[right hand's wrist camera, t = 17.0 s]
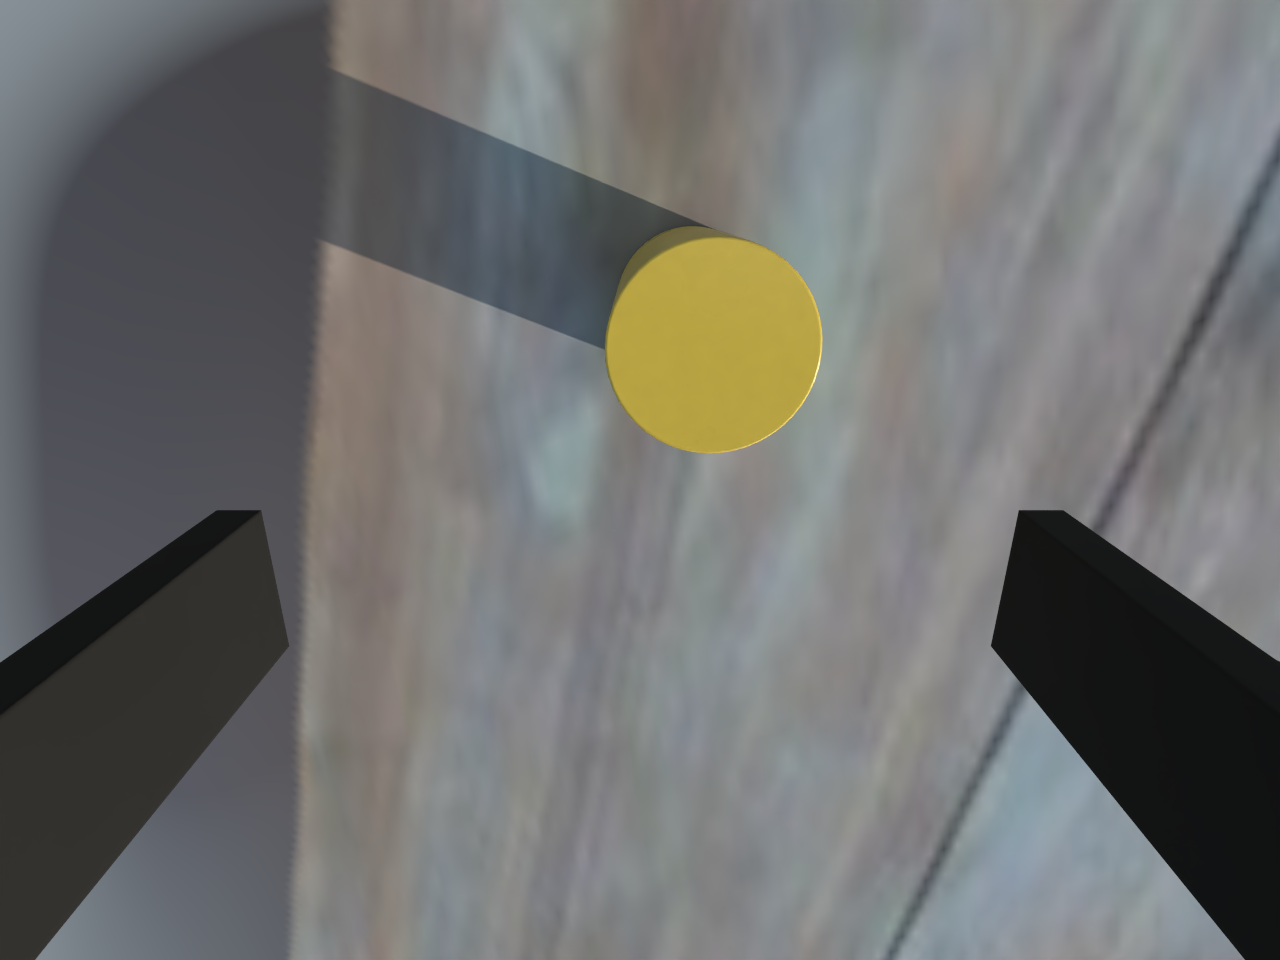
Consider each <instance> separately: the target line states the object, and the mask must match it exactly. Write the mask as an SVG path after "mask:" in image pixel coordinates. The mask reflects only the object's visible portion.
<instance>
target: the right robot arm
mask: <svg viewBox="0 0 1280 960" xmlns="http://www.w3.org/2000/svg"><path fill="white" fill-rule="evenodd" d="M288 647H289V644H288V639H287V634H286V629H285V624H284V619H283V614H282V610H281V605H280V600H279V595H278V590H277V585H276V581H275V576H274V571H273V566H272V561H271V556H270V551H269V547H268V542H267V537H266V532H265V527H264V522H263V517H262V513H261V510H217V511H215V512H214V513H212V514H211V515H210V516H208V517H207V518H205V519H204V520H202V521H201V522H200V523H198V524H197V525H195V526H194V527H192V528H191V529H190V530H188V531H187V532H185V533H184V534H183V535H181V536H180V537H178V538H177V539H175V540H174V541H173V542H171V543H170V544H168V545H167V546H166V547H164V548H163V549H161V550H160V551H158V552H157V553H156V554H154V555H153V556H151V557H150V558H149V559H147V560H146V561H144V562H143V563H141V564H140V565H138V566H137V567H136V568H134V569H133V570H131V571H130V572H129V573H127V574H126V575H124V576H123V577H121V578H120V579H119V580H117V581H116V582H114V583H113V584H111V585H110V586H109V587H107V588H106V589H104V590H103V591H101V592H100V593H99V594H97V595H96V596H94V597H93V598H92V599H90V600H89V601H87V602H86V603H84V604H83V605H82V606H80V607H79V608H77V609H76V610H74V611H73V612H72V613H70V614H69V615H67V616H66V617H65V618H63V619H62V620H60V621H59V622H57V623H56V624H55V625H53V626H52V627H50V628H49V629H48V630H46V631H45V632H43V633H42V634H40V635H39V636H37V637H36V638H35V639H33V640H32V641H30V642H29V643H28V644H26V645H25V646H23V647H22V648H20V649H19V650H18V651H16V652H15V653H13V654H12V655H10V656H9V657H8V658H6V659H5V660H3V661H2V662H1V663H0V960H35V959H36V958H37V957H38V955H39V954H40V953H41V952H42V950H43V949H44V948H45V947H46V945H47V944H48V943H49V942H50V941H51V939H52V938H53V937H54V936H55V934H56V933H57V932H58V931H59V929H60V928H61V927H62V926H63V924H64V923H65V922H66V921H67V919H68V918H69V917H70V916H71V915H72V913H73V912H74V911H75V910H76V908H77V907H78V906H79V905H80V903H81V902H82V901H83V900H84V899H85V897H86V896H87V895H88V894H89V892H90V891H91V890H92V889H93V887H94V886H95V885H96V884H97V883H98V881H99V880H100V879H101V878H102V876H103V875H104V874H105V873H106V871H107V870H108V869H109V868H110V866H111V865H112V864H113V863H114V861H115V860H116V859H117V858H118V857H119V855H120V854H121V853H122V852H123V850H124V849H125V848H126V847H127V845H128V844H129V843H130V842H131V841H132V839H133V838H134V837H135V836H136V834H137V833H138V832H139V831H140V829H141V828H142V827H143V826H144V824H145V823H146V822H147V821H148V819H149V818H150V817H151V816H152V815H153V813H154V812H155V811H156V810H157V808H158V807H159V806H160V805H161V803H162V802H163V801H164V800H165V798H166V797H167V796H168V795H169V794H170V792H171V791H172V790H173V789H174V787H175V786H176V785H177V784H178V782H179V781H180V780H181V779H182V778H183V776H184V775H185V774H186V773H187V771H188V770H189V769H190V768H191V766H192V765H193V764H194V763H195V762H196V760H197V759H198V758H199V757H200V755H201V754H202V753H203V752H204V750H205V749H206V748H207V747H208V745H209V744H210V743H211V742H212V741H213V739H214V738H215V737H216V736H217V734H218V733H219V732H220V731H221V729H222V728H223V727H224V726H225V724H226V723H227V722H228V721H229V720H230V718H231V717H232V716H233V715H234V713H235V712H236V711H237V710H238V708H239V707H240V706H241V705H242V703H243V702H244V701H245V700H246V699H247V697H248V696H249V695H250V694H251V692H252V691H253V690H254V689H255V687H256V686H257V685H258V684H259V683H260V681H261V680H262V679H263V678H264V676H265V675H266V674H267V673H268V671H269V670H270V669H271V668H272V666H273V665H274V664H275V663H276V662H277V660H278V659H279V658H280V657H281V655H282V654H283V653H284V652H285V650H286V649H287V648H288ZM991 647H992V648H993V649H994V650H995V652H996V653H997V654H998V655H999V657H1000V658H1001V659H1002V660H1003V662H1004V663H1005V664H1006V665H1007V666H1008V668H1009V669H1010V670H1011V671H1012V673H1013V674H1014V675H1015V676H1016V678H1017V679H1018V680H1019V681H1020V683H1021V684H1022V685H1023V686H1024V687H1025V689H1026V690H1027V691H1028V692H1029V694H1030V695H1031V696H1032V697H1033V699H1034V700H1035V701H1036V702H1037V704H1038V705H1039V706H1040V707H1041V708H1042V710H1043V711H1044V712H1045V713H1046V715H1047V716H1048V717H1049V718H1050V720H1051V721H1052V722H1053V723H1054V724H1055V726H1056V727H1057V728H1058V729H1059V731H1060V732H1061V733H1062V734H1063V736H1064V737H1065V738H1066V739H1067V741H1068V742H1069V743H1070V744H1071V745H1072V747H1073V748H1074V749H1075V750H1076V752H1077V753H1078V754H1079V755H1080V757H1081V758H1082V759H1083V760H1084V762H1085V763H1086V764H1087V765H1088V766H1089V768H1090V769H1091V770H1092V771H1093V773H1094V774H1095V775H1096V776H1097V778H1098V779H1099V780H1100V781H1101V783H1102V784H1103V785H1104V786H1105V787H1106V789H1107V790H1108V791H1109V792H1110V794H1111V795H1112V796H1113V797H1114V799H1115V800H1116V801H1117V802H1118V804H1119V805H1120V806H1121V807H1122V808H1123V810H1124V811H1125V812H1126V813H1127V815H1128V816H1129V817H1130V818H1131V820H1132V821H1133V822H1134V823H1135V824H1136V826H1137V827H1138V828H1139V829H1140V831H1141V832H1142V833H1143V834H1144V836H1145V837H1146V838H1147V839H1148V841H1149V842H1150V843H1151V844H1152V845H1153V847H1154V848H1155V849H1156V850H1157V852H1158V853H1159V854H1160V855H1161V857H1162V858H1163V859H1164V860H1165V862H1166V863H1167V864H1168V865H1169V866H1170V868H1171V869H1172V870H1173V871H1174V873H1175V874H1176V875H1177V876H1178V878H1179V879H1180V880H1181V881H1182V883H1183V884H1184V885H1185V886H1186V887H1187V889H1188V890H1189V891H1190V892H1191V894H1192V895H1193V896H1194V897H1195V899H1196V900H1197V901H1198V902H1199V903H1200V905H1201V906H1202V907H1203V908H1204V910H1205V911H1206V912H1207V913H1208V915H1209V916H1210V917H1211V918H1212V920H1213V921H1214V922H1215V923H1216V924H1217V926H1218V927H1219V928H1220V929H1221V931H1222V932H1223V933H1224V934H1225V936H1226V937H1227V938H1228V939H1229V941H1230V942H1231V943H1232V944H1233V945H1234V947H1235V948H1236V949H1237V950H1238V952H1239V953H1240V954H1241V955H1242V957H1243V958H1244V959H1245V960H1280V662H1279V661H1277V660H1275V659H1274V658H1272V657H1271V656H1270V655H1268V654H1267V653H1265V652H1264V651H1262V650H1261V649H1260V648H1258V647H1257V646H1255V645H1254V644H1252V643H1251V642H1250V641H1248V640H1247V639H1245V638H1244V637H1243V636H1241V635H1240V634H1238V633H1237V632H1235V631H1234V630H1233V629H1231V628H1230V627H1228V626H1227V625H1225V624H1224V623H1223V622H1221V621H1220V620H1218V619H1217V618H1216V617H1214V616H1213V615H1211V614H1210V613H1208V612H1207V611H1206V610H1204V609H1203V608H1201V607H1200V606H1198V605H1197V604H1196V603H1194V602H1193V601H1191V600H1190V599H1188V598H1187V597H1186V596H1184V595H1183V594H1181V593H1180V592H1179V591H1177V590H1176V589H1174V588H1173V587H1171V586H1170V585H1169V584H1167V583H1166V582H1164V581H1163V580H1161V579H1160V578H1159V577H1157V576H1156V575H1154V574H1153V573H1152V572H1150V571H1149V570H1147V569H1146V568H1144V567H1143V566H1142V565H1140V564H1139V563H1137V562H1136V561H1134V560H1133V559H1132V558H1130V557H1129V556H1127V555H1126V554H1124V553H1123V552H1122V551H1120V550H1119V549H1117V548H1116V547H1115V546H1113V545H1112V544H1110V543H1109V542H1107V541H1106V540H1105V539H1103V538H1102V537H1100V536H1099V535H1097V534H1096V533H1095V532H1093V531H1092V530H1090V529H1089V528H1088V527H1086V526H1085V525H1083V524H1082V523H1080V522H1079V521H1078V520H1076V519H1075V518H1073V517H1072V516H1070V515H1069V514H1068V513H1066V512H1065V511H1063V510H1019V513H1018V517H1017V522H1016V527H1015V532H1014V537H1013V542H1012V547H1011V551H1010V556H1009V561H1008V566H1007V571H1006V576H1005V580H1004V585H1003V590H1002V595H1001V600H1000V605H999V610H998V614H997V619H996V624H995V629H994V634H993V639H992V643H991Z"/></svg>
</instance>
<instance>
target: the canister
mask: <svg viewBox="0 0 1280 960" xmlns="http://www.w3.org/2000/svg"><path fill="white" fill-rule="evenodd" d="M821 354H822V329H821V321H820V317H819V312H818V309H817V306H816V303H815V301H814V298H813V296H812V294H811V292H810V290H809V288H808V287H807V285H806V283H805V282H804V280H803V279H802V278H801V276H800V275H799V274H798V272H797V271H796V270H795V269H794V268H793V267H792V266H791V265H790V264H789V263H788V262H787V261H785V260H784V259H783V258H782V257H780V256H779V255H778V254H776V253H775V252H773V251H771V250H769V249H768V248H766V247H764V246H762V245H759V244H757V243H754V242H752V241H749V240H746V239H743V238H740V237H737V236H733V235H730V234H727V233H724V232H721V231H718V230H714V229H711V228H706V227H699V226H684V227H679V228H674V229H671V230H668V231H665V232H662V233H660V234H658V235H656V236H655V237H653V238H652V239H650V240H649V241H647V242H646V243H645V244H644V245H643V246H641V247H640V248H639V249H638V250H637V252H636V253H635V254H634V255H633V256H632V258H631V259H630V261H629V262H628V264H627V265H626V267H625V269H624V271H623V273H622V276H621V279H620V282H619V285H618V289H617V292H616V296H615V299H614V303H613V306H612V310H611V313H610V317H609V320H608V325H607V330H606V337H605V360H606V367H607V372H608V377H609V380H610V383H611V386H612V388H613V391H614V393H615V395H616V397H617V399H618V401H619V403H620V404H621V406H622V407H623V409H624V410H625V411H626V413H627V414H628V415H629V416H630V418H631V419H632V420H633V421H634V422H635V423H636V424H637V425H638V426H639V427H640V428H642V429H643V430H644V431H645V432H646V433H648V434H649V435H651V436H652V437H654V438H655V439H657V440H659V441H661V442H663V443H665V444H667V445H670V446H672V447H675V448H678V449H681V450H686V451H691V452H698V453H722V452H728V451H734V450H737V449H741V448H744V447H747V446H750V445H752V444H754V443H757V442H759V441H761V440H763V439H764V438H766V437H768V436H769V435H771V434H773V433H774V432H775V431H777V430H778V429H779V428H781V427H782V426H783V425H784V424H785V423H786V422H787V421H788V420H789V419H790V418H791V417H792V416H793V415H794V414H795V413H796V411H797V410H798V409H799V408H800V406H801V405H802V404H803V402H804V400H805V399H806V397H807V396H808V394H809V392H810V390H811V388H812V386H813V383H814V381H815V378H816V375H817V372H818V369H819V365H820V359H821Z"/></svg>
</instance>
